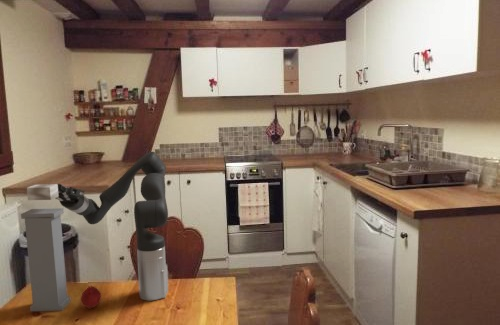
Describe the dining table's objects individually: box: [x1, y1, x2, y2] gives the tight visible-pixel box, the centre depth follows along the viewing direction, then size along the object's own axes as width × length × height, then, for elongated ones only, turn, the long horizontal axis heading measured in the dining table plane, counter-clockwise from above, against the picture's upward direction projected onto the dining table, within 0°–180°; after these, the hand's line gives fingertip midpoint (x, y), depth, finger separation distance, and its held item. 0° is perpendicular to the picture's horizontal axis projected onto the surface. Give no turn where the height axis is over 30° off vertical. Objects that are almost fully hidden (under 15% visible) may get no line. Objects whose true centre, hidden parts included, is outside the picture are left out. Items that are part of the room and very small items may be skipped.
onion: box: [80, 283, 102, 309], centre depth 118 cm, size 6×6×8 cm
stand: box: [20, 207, 72, 312], centre depth 117 cm, size 10×6×32 cm, turn 92°
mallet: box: [26, 183, 60, 201], centre depth 120 cm, size 7×14×4 cm, turn 2°
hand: (53, 186), depth 122 cm, fingers closed on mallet, 2 cm apart
